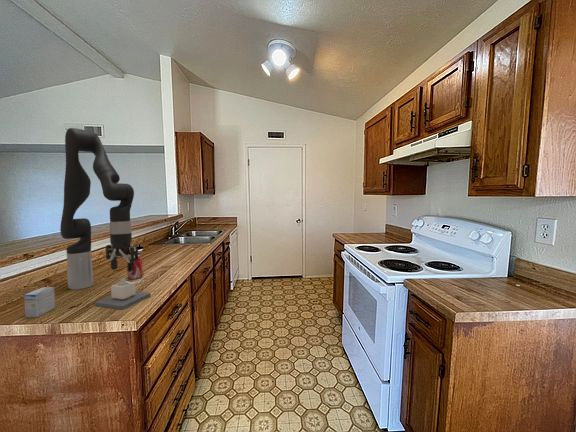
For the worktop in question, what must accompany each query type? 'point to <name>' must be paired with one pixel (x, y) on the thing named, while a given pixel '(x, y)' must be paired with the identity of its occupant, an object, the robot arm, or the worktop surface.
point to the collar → (123, 290)
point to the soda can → (136, 269)
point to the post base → (122, 303)
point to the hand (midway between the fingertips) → (122, 270)
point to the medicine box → (39, 301)
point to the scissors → (138, 281)
